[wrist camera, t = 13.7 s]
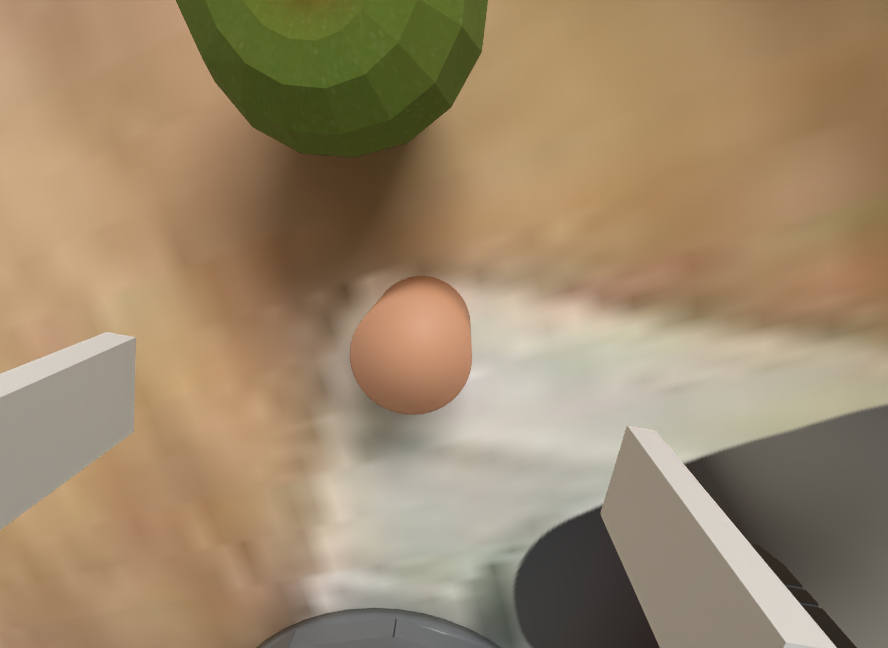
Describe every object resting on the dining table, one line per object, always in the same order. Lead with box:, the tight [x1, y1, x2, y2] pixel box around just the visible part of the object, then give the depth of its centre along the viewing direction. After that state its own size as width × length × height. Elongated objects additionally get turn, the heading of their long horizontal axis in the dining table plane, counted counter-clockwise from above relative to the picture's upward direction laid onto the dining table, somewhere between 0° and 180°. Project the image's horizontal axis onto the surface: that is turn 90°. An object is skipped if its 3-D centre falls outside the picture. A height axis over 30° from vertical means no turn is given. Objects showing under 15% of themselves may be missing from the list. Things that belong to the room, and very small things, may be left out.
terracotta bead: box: [350, 276, 472, 414], centre depth 22 cm, size 5×5×6 cm
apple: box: [176, 0, 488, 157], centre depth 17 cm, size 9×8×12 cm
